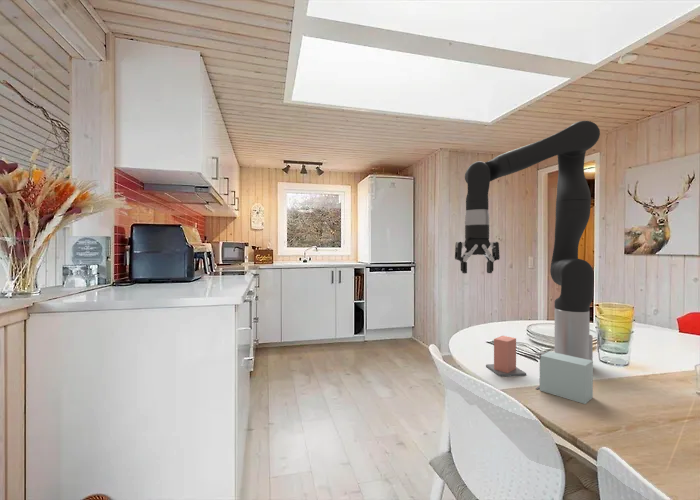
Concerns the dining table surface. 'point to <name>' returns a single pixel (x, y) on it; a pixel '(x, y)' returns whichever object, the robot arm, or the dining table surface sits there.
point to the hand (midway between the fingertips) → (477, 273)
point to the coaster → (512, 373)
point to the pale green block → (566, 376)
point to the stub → (505, 354)
